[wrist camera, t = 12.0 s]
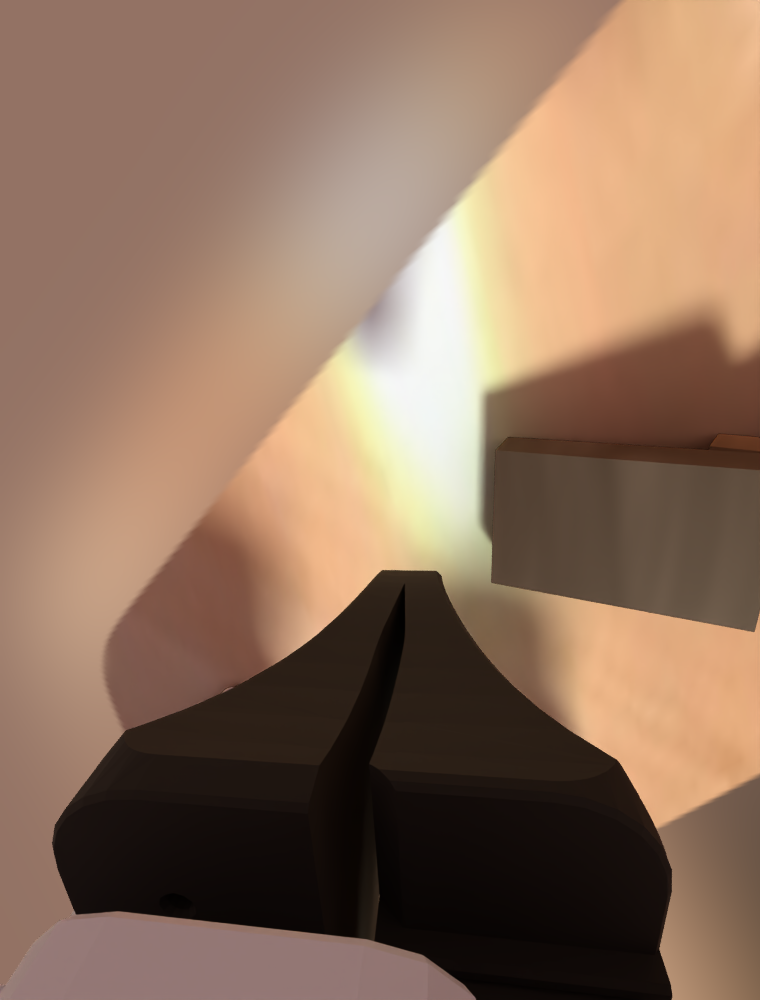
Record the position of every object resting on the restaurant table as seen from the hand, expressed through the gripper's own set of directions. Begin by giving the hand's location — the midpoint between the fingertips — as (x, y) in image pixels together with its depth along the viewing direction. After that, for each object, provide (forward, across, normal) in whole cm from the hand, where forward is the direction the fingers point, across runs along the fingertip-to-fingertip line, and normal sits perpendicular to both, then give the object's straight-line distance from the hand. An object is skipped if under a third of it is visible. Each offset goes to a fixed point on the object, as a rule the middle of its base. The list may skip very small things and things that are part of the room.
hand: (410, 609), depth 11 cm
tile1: (+6, -2, 0) cm, 6 cm away
